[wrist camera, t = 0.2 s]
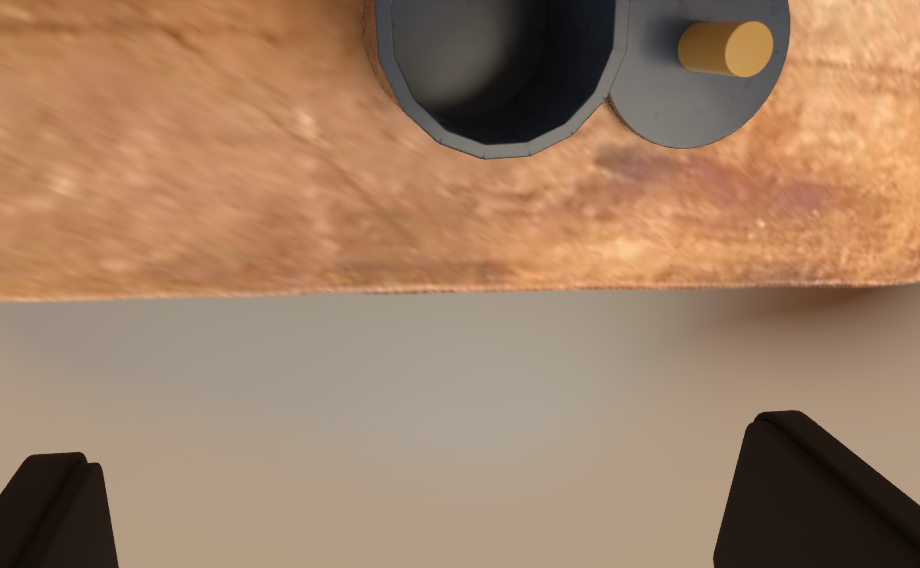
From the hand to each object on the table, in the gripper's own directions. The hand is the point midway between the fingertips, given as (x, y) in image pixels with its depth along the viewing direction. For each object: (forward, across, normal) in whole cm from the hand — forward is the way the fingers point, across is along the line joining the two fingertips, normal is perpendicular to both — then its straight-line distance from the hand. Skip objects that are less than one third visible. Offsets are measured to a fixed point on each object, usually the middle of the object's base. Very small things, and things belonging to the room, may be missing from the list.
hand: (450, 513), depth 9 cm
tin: (+31, -6, -7) cm, 32 cm away
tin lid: (+30, -20, -7) cm, 37 cm away
